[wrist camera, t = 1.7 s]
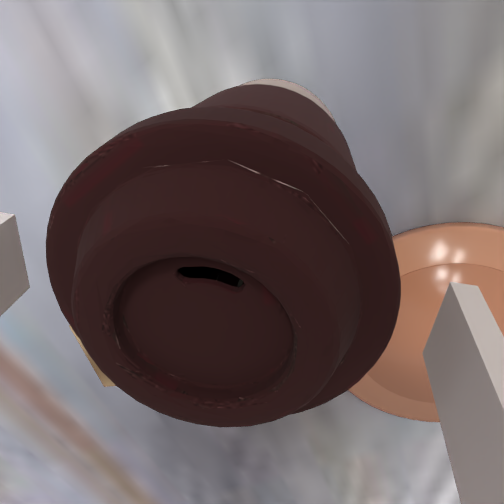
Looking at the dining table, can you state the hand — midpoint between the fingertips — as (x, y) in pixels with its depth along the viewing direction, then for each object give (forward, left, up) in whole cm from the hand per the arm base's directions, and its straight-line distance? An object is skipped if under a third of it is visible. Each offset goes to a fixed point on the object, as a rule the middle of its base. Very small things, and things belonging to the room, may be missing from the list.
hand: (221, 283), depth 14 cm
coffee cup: (0, 0, -12) cm, 12 cm away
